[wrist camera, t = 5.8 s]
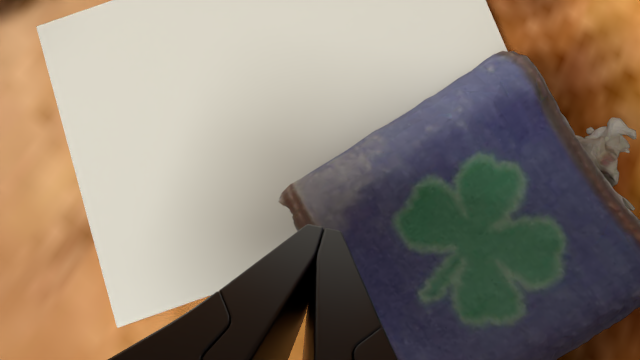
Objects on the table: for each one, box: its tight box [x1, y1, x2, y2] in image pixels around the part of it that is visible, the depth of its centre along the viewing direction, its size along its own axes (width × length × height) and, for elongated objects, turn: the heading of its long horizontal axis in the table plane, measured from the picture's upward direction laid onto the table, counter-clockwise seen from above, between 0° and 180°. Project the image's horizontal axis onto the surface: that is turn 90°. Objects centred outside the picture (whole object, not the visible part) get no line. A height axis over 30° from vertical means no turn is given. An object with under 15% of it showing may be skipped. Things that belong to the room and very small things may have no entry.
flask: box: [278, 51, 640, 360], centre depth 16 cm, size 10×3×12 cm
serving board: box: [36, 0, 508, 328], centre depth 19 cm, size 13×18×1 cm
